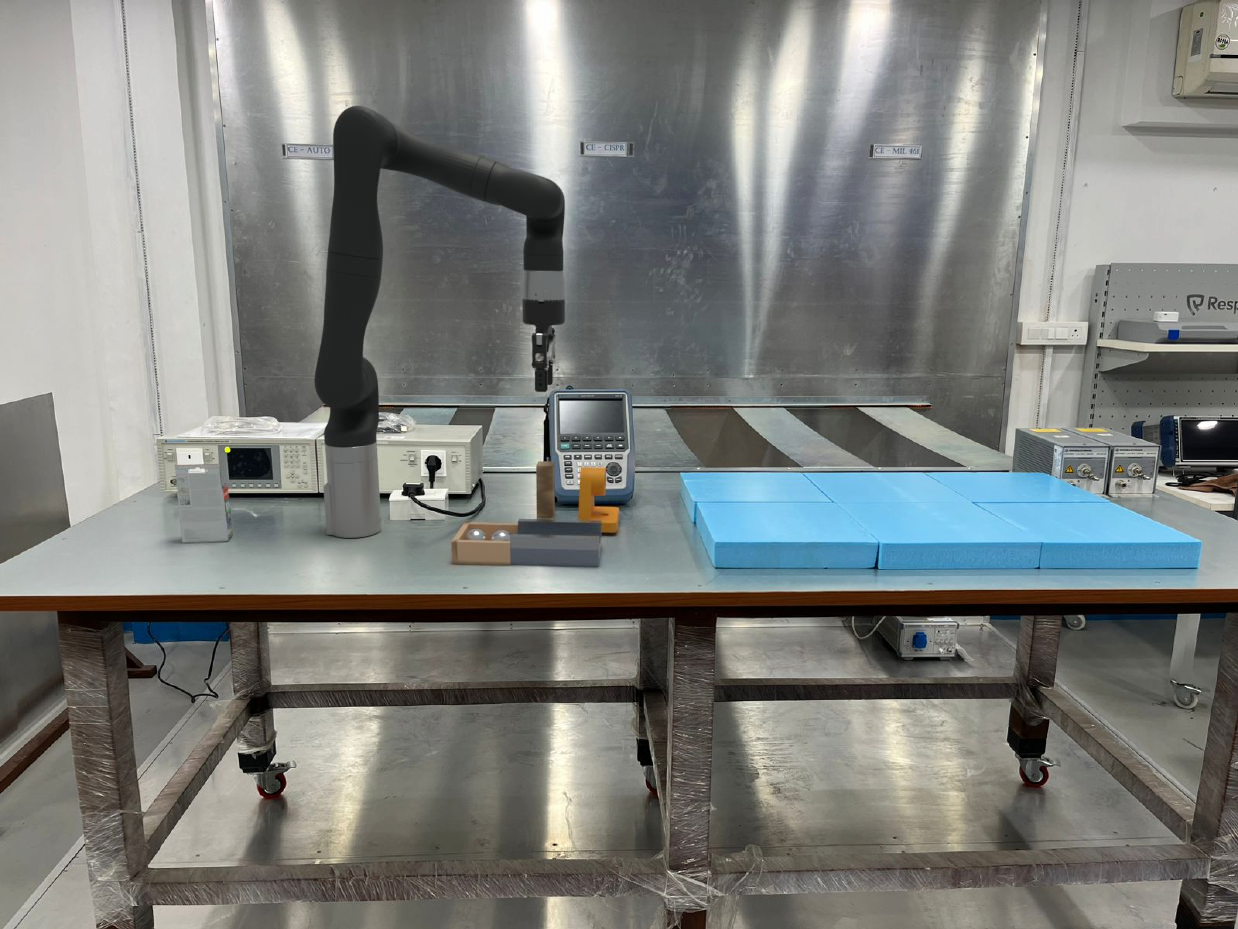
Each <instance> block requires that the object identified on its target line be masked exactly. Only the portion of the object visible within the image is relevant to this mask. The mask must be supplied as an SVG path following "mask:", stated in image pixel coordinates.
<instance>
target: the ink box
mask: <svg viewBox="0 0 1238 929" xmlns="http://www.w3.org/2000/svg"><path fill="white" fill-rule="evenodd" d="M196 468H198V469H200V470H201V469H203V470H204V469H205V470H207V471H206V472H189V470H195V469H196ZM174 470H175V479H176V489H177V491H176V498H177V506H178V514H179V516H178V517H179V525H180V532H181V541H182V543H183V544H197V543H198V544H200V543H203V544H204V543H222V542H223V543H224V542H229V541H230V539H231V538H233V534H234V533H233V523H232V515H231V514H232V513H231V511H232V510H231V505H230V495H229V494H230V493H229V485H223V484H222V475H221V463H204V464H203V463H202V464H200V463H199V464H175V465H174Z"/></svg>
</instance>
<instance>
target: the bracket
mask: <svg viewBox="0 0 1238 929" xmlns="http://www.w3.org/2000/svg"><path fill="white" fill-rule="evenodd" d="M606 487H607V467H586V466H584V467H583V466H581V467H580V474H579V491H578V492H579V493H578V494H579V495H578V518H577V520H600V521H602V533H610V534H611V533H612V534H613V533H618V529H619V522H620V521H619V519H620V508H619V507H617V506H595V496H601V497H602V496H606V489H607V488H606Z"/></svg>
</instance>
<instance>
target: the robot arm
mask: <svg viewBox="0 0 1238 929" xmlns="http://www.w3.org/2000/svg"><path fill="white" fill-rule="evenodd" d="M332 147H333V148H332V149H333V150H332V151H333V153H332V154H333V198H332V204H331V205H332V206H331V217H330V227H329V239H328V246H327V256H326V273H325V290H324V291H325V292H324V304H323V305H324V307H323V327H322V334H321V341H320V345H319V349H318V350H319V351H318V356H317V361H316V367H315V370H314V382H313V383H314V388H315V392H316V394H317V396H318V399H320V401H321V402H322V403H323V404H324V405H325V406H327V407H328V408H329V417H328V421H327V424H326V425H325V428H324V430H323V437H324V438H323V439H324V453H325V454H324V455H325V464H326V468H325V469H326V483H325V484H324V485H323V501H324V514H325V528H326V535H328V536H329V535H330V536H334V537H337V538H344V539H345V538H347V539H349V538H350V539H352V538H353V539H354V538H355V539H356V538H365V537H369V536H372V535H375V534H377V533H379V532H380V531H381V530H382V517H381V497H380V496H381V495H380V479H379V477H380V476H379V461H378V460H379V459H378V458H379V457H378V442H377V432H378V427H379V423H380V403H379V402H380V400H379V398H380V396H379V395H380V393H379V381H378V376H377V375H378V374H377V371H376V368H375V367H374V365H373V364H372V362H370V360H368V359H367V358H366V357H364V342H365V334H366V330H367V327H368V323H369V321H370V318H371V315H372V312H373V310H374V308H375V304H376V302H377V298H378V295H379V292H380V286H381V281H382V273H383V262H384V261H383V258H384V240H383V231H382V226H381V221H380V214H379V205H378V190H379V184H380V183H379V182H380V176H381V169H382V170H389V171H395V172H399V173H400V172H401V173H405V174H408V175H413V176H416V177H419V178H422V179H424V180H425V179H426V180H428V181H430V182H433V183H435V184H438V185H440V186H443V188H444V187H445V188H447V189H450V190H451V191H455V192H457V193H459V194H461V195H464V196H467V197H470V198H473V199H476V200H479V201H481V202H485V203H487V204H490V205H494V206H501V207H504V208H507V209H508V210H511V211H513V212H516V213H518V214H522V215H523V216H525V219H526V220H525V221H526V222H525V224H526V227H525V230H526V232H525V233H526V237H525V239H524V242H523V248H522V250H523V251H522V252H523V254H522V255H523V256H522V257H523V275H522V282H521V283H522V284H521V288H522V290H521V291H522V292H521V295H522V298H521V299H522V300H521V301H522V302H521V303H522V305H521V306H522V308H521V309H522V312H521V313H522V323H523V324H524V325H528V326H534V327H535V329H534V331H535V332H533V333H531V344H532V345H531V348H532V349H531V360H532V362H531V367H532V369H533V371H534V391H535V392H536V393H546V392H547V391H548V390H549V387H548V386H551V385H552V384H553V383H554V380H553V379H554V376H553V374H554V368H553V367H554V366H553V365H554V363H555V359H556V351H557V350H556V341H557V335H556V334H555V333H556V329H555V327H552V326H561V325H564V324H565V321H566V296H565V295H566V284H565V275H564V244H563V236H564V229H565V217H566V216H565V215H566V214H565V213H566V212H565V211H566V200H565V195H564V192H563V190H562V189H561V187H560V186H559V185H558V184H557V183H556V182H555V181H553V180H551V179H550V178H548V177H545V176H542V175H539V174H535V173H532V172H528V171H526V170H525V171H524V170H521V169H517V168H512V167H510V166H508V165H507V164H504V163H502V162H499V161H496V160H494V159H491V158H488V157H485V156H482V155H480V154H476V153H474V152H470V151H466V150H462V149H459V148H456V147H450V146H446V145H441V144H439V143H435V142H432V141H429V140H427V139H425V138H421V137H420V136H417V135H414V134H413V133H411V132H409V131H407V130H405V129H404V128H402V127H400V126H398V125H396V123H393V122H391V121H390V120H389V119H388V118H387V117H386V116H384V115H382V114H381V113H379V112H377V111H375V110H373V109H371V108H369V107H366V106H363V105H352V106H349V107H347V108H346V109H344V110H343V111H342V112H341V113H340V114H339V116H337V119H336V121H335V124H334V128H333V132H332Z"/></svg>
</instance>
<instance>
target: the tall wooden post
mask: <svg viewBox="0 0 1238 929" xmlns="http://www.w3.org/2000/svg"><path fill="white" fill-rule="evenodd" d="M535 468H536V469H535V472H536V473H535V475H536V476H535V480H536V485H535V486H536V487H535V491H536V500H535V501H536V518H535V519H556V511H555V508H556V507H555V504H556V503H555V502H556V501H555V494H556V492H555V490H556V489H555V484H556V483H555V461H538V462H537V463H536V466H535Z"/></svg>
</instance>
